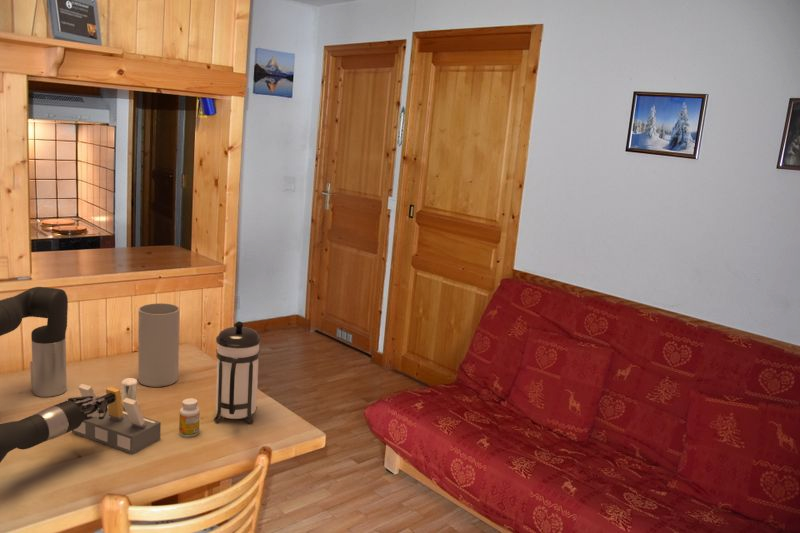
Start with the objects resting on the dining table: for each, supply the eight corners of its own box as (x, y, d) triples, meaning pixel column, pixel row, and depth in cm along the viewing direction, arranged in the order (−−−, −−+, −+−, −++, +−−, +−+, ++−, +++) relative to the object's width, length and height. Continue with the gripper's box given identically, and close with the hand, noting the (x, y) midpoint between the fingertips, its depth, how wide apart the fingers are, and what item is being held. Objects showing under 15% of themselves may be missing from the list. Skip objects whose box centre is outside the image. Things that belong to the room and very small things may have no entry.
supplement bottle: (178, 429, 187) (178, 398, 185) (198, 427, 189) (198, 396, 187) (180, 438, 182) (180, 406, 180) (200, 436, 184) (200, 404, 182)
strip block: (71, 432, 180) (71, 415, 179) (101, 419, 189) (101, 402, 188) (132, 454, 172) (132, 436, 171) (160, 438, 181) (160, 421, 180)
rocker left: (87, 410, 183) (76, 386, 178) (91, 406, 184) (80, 383, 179) (99, 414, 181) (88, 390, 176) (102, 410, 182) (92, 387, 178)
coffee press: (197, 414, 197) (199, 319, 191) (242, 401, 209) (246, 311, 203) (229, 436, 186) (232, 336, 180) (275, 421, 198) (280, 326, 191)
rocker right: (130, 424, 177) (121, 400, 172) (134, 421, 178) (125, 397, 173) (143, 429, 175) (133, 404, 170) (147, 425, 176) (137, 401, 172)
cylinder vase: (163, 370, 227) (164, 301, 222) (185, 380, 220) (187, 309, 215) (130, 379, 217) (130, 307, 212) (153, 391, 210) (153, 316, 205)
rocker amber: (108, 417, 180) (104, 388, 177) (112, 414, 181) (108, 386, 178) (120, 421, 178) (116, 392, 175) (124, 418, 179) (120, 390, 176)
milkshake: (134, 412, 195) (134, 380, 193) (118, 409, 196) (118, 377, 194) (143, 406, 200) (143, 375, 197) (127, 403, 201) (127, 372, 198)
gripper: (38, 427, 164) (96, 403, 180) (75, 442, 159) (131, 416, 175) (37, 400, 163) (95, 378, 178) (74, 413, 158) (131, 389, 173)
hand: (113, 396), depth 176 cm, fingers closed
